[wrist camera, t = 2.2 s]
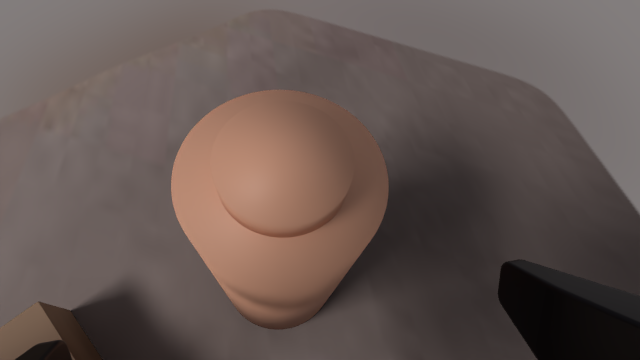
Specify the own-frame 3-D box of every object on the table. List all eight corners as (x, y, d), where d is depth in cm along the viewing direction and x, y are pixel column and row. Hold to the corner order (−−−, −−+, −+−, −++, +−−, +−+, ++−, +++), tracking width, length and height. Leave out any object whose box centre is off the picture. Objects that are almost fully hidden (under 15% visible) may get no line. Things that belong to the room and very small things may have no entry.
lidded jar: (353, 276, 19) (443, 169, 9) (273, 355, 17) (270, 335, 7) (285, 204, 20) (293, 38, 10) (203, 268, 18) (113, 145, 8)
